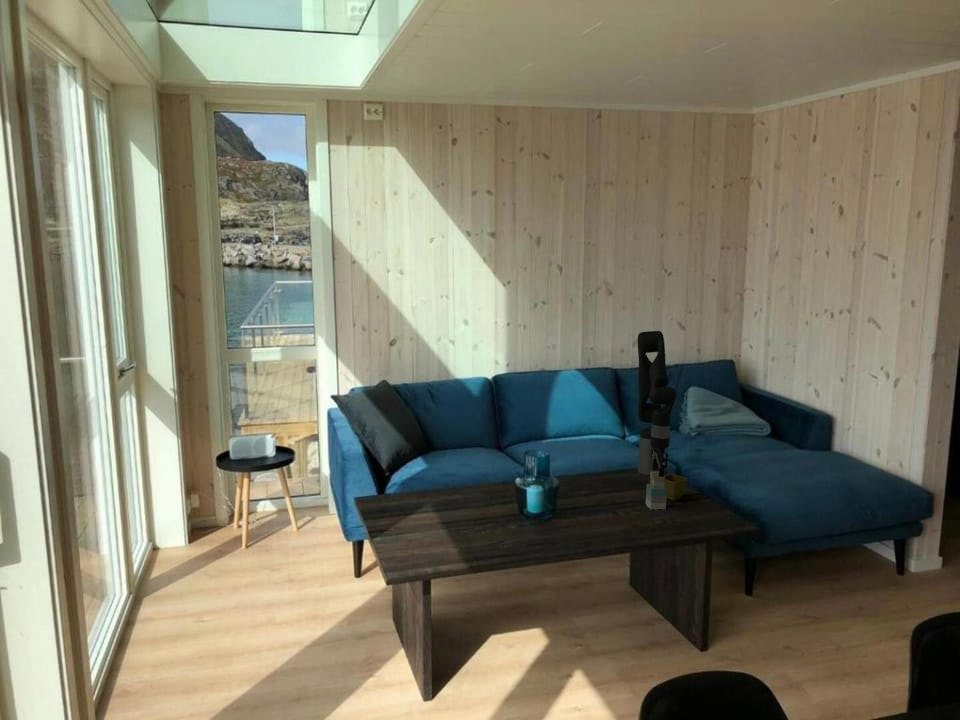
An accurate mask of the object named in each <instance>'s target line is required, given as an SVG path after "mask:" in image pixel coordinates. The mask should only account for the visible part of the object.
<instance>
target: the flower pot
mask: <svg viewBox="0 0 960 720" xmlns="http://www.w3.org/2000/svg"><path fill="white" fill-rule="evenodd" d="M687 484H688V478H687V477H684V476H681V475H678V474H674V473H669V474H665V484H664V487H665V488H666V489H667V494H666V495H667V499H668V500H671V501H676V500H678V499H681V498H682V497H683V495H684V494H685V491H686V489H687Z"/></svg>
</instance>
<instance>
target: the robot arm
mask: <svg viewBox="0 0 960 720" xmlns="http://www.w3.org/2000/svg"><path fill="white" fill-rule="evenodd" d="M636 341H637V354H638V355H637V356H638V374H637V375H638V383H637V384H638V405H637V419H638V420H639V422H641V423H644V424H645V423H646V424H647V423H648V424H651V426H650V427H647V428H642V429H641V430H640V432H639V445H638V447H639V448H638V449H639V450H638V464H637V465H638V467H637V472H638V473H639V474H641V475H647V476H650V473H651V472H659V477H664V475H665V472H666V469H667V468H668V453H666V451H665V449H668V448H669V447H670V436H671V413H672V410H673V407H674V404H675V402H676V398H677V393H676V390H675V388H674V387H672V386H668V385H669V377H668V373H667V372H668V371H667V365H666V347H665V344H666V343H665V338H664V334H663V332H662V331H661V330H649V331H642V332H639V333H638V335H637V340H636ZM648 353H649V354H650V353H656V356H655V358H654V360H653V361H651V360H650V359H649V357H648V356H647V354H648ZM648 399H649V401H650V402H647V401H648ZM662 405H664V406H663V407H662Z"/></svg>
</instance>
